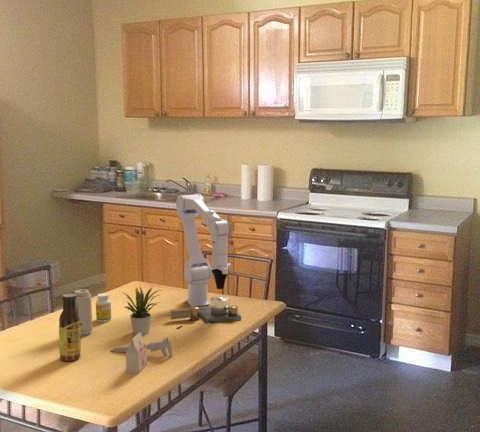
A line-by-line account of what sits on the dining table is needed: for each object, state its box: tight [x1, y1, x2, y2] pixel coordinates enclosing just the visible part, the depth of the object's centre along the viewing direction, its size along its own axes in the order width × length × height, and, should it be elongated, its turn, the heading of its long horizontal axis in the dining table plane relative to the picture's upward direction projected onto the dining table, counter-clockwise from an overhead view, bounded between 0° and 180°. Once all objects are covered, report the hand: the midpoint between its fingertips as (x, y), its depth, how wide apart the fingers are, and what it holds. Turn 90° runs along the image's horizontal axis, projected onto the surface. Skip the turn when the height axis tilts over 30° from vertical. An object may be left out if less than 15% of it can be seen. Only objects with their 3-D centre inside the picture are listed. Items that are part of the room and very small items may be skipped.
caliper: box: [109, 337, 173, 358], centre depth 180 cm, size 20×1×6 cm, turn 77°
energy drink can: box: [73, 288, 93, 337], centre depth 197 cm, size 6×6×15 cm
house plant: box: [121, 285, 163, 336], centre depth 197 cm, size 14×14×16 cm
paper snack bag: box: [125, 332, 148, 375], centre depth 168 cm, size 4×7×10 cm, turn 169°
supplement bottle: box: [95, 292, 112, 323], centre depth 211 cm, size 5×5×10 cm
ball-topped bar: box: [169, 306, 201, 321], centre depth 212 cm, size 11×4×4 cm, turn 108°
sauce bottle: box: [58, 293, 82, 362], centre depth 175 cm, size 6×6×20 cm
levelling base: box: [176, 295, 242, 330], centre depth 213 cm, size 17×25×7 cm
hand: (220, 288), depth 216 cm, fingers closed
